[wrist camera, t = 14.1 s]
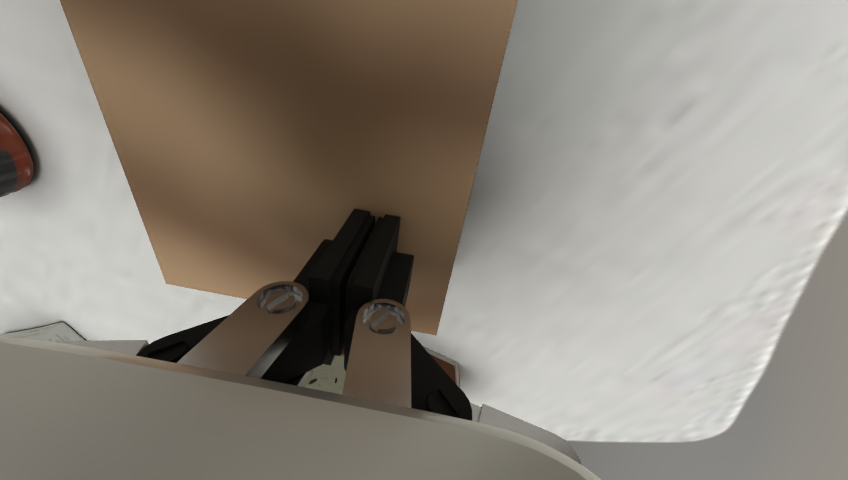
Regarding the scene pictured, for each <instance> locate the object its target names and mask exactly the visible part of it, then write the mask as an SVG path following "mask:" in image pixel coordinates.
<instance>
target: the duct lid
mask: <svg viewBox="0 0 848 480" xmlns="http://www.w3.org/2000/svg"><path fill="white" fill-rule="evenodd" d="M60 2H61V5H62V7H63V10H64V13H65V15H66V18H67V21H68V23H69V26H70V29H71V31H72V34H73V37H74V39H75V42H76V45H77V47H78V50H79V53H80V55H81V58H82V61H83V63H84V66H85V69H86V71H87V74H88V77H89V79H90V82H91V85H92V87H93V90H94V93H95V95H96V98H97V101H98V103H99V106H100V109H101V111H102V114H103V117H104V119H105V122H106V125H107V127H108V130H109V133H110V135H111V138H112V141H113V143H114V146H115V149H116V151H117V154H118V157H119V159H120V162H121V164H122V167H123V170H124V172H125V175H126V178H127V180H128V183H129V186H130V188H131V191H132V194H133V196H134V199H135V202H136V204H137V207H138V210H139V212H140V215H141V218H142V220H143V223H144V226H145V228H146V231H147V234H148V236H149V239H150V242H151V244H152V247H153V250H154V252H155V255H156V258H157V260H158V263H159V266H160V268H161V271H162V274H163V276H164V279H165V282H166V284H171V285H176V286H181V287H186V288H192V289H197V290H202V291H207V292H212V293H218V294H223V295H228V296H233V297H239V298H244V299H248V298H249V297H251V296H252V295H253V294H254V293H255V292H256V291H257V290H259V289H260V288H262V287H263V286H265V285H268V284H270V283H274V282H279V281H291V282H293V281H294V280H295V278H296V277H297V276H298V274H299V273H300V271H301V270H302V269H303V267H304V266H305V265H306V263H307V262H308V260H309V259H310V258H311V256H312V255H313V253H314V252H315V251H316V249H317V248H318V247H319V245H320V244H321V242H322V241H323V240H324V239H328V240H333V239H334V238H335V236H336V235H337V233H338V232H339V230H340V229H341V227H342V226H343V224H344V223H345V221H346V220H347V219H348V217H349V216H350V214H351V213H352V211H353V210H354V209H360V210H365V211H370V215H371V216H375V224H376V222H377V220H378V218H379V217H382V218H384V216H385V214H388V215H393V216H399V217H401V220H400V228H399V236H398V245H397V252H399V253H405V254H410V255H414V262H413V269H412V275H411V281H410V286H409V291H408V296H407V300H406V305H405V308H406V309H407V311H408V312H409V314H410V319H411V331H416V332H422V333H427V334H432V335H436V334H437V330H438V326H439V322H440V318H441V313H442V309H443V305H444V301H445V297H446V293H447V289H448V285H449V281H450V276H451V272H452V268H453V264H454V260H455V256H456V252H457V248H458V243H459V239H460V235H461V231H462V227H463V223H464V219H465V215H466V210H467V206H468V202H469V198H470V194H471V190H472V186H473V182H474V178H475V173H476V169H477V165H478V161H479V157H480V153H481V149H482V145H483V140H484V136H485V132H486V128H487V124H488V120H489V116H490V112H491V108H492V103H493V99H494V95H495V91H496V87H497V83H498V79H499V75H500V70H501V66H502V62H503V58H504V54H505V50H506V46H507V42H508V37H509V33H510V29H511V25H512V21H513V17H514V13H515V9H516V5H517V0H60Z"/></svg>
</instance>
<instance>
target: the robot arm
mask: <svg viewBox="0 0 848 480" xmlns="http://www.w3.org/2000/svg"><path fill="white" fill-rule="evenodd" d="M400 220H401V217H399V216H393V215H388V214H385V216H384V218H382V217H379V218H378V220H377V222H376V224H375V216H371V215H370V211H365V210H360V209H354V210H353V211H352V213H351V214H350V216H349V217H348V219H347V220H346V221H345V223H344V224H343V226H342V227H341V229H340V230H339V232H338V233H337V235H336V236H335V238H334V239H333V240H328V239H324V240H323V241H322V242H321V244H320V245H319V247H318V248H317V249H316V251H315V252H314V253H313V255H312V256H311V258H310V259H309V260H308V262H307V263H306V265H305V266H304V267H303V269H302V270H301V271H300V273H299V274H298V276H297V277H296V278H295V280H294V281H293V282H291V281H279V282H274V283H270V284H268V285H265V286H263V287H262V288H260V289H259V290H257V291H256V292H255V293H254V294H253V295H252V296H251V297H249V298H248V299H247V300H246V301H245V302H244V303H243V304H242V305H240V306H239V307H238V308H237V309H236V310H235V311H234V312H233V313H232V314H230V315H228V316H225V317H222V318H219V319H216V320H213V321H210V322H207V323H204V324H201V325H198V326H195V327H192V328H189V329H186V330H183V331H180V332H177V333H174V334H171V335H168V336H166V337H163V338H161V339H159V340H156V341H154V342H152V343H151V344H148V342H147V340H110V341H59V342H49V341H40V340H32V339H20V338H3V337H0V480H601V479H599V478H598V477H597V476H596V475H594V474H593V473H592V472H590V471H589V470H587V469H586V468H585V467H583V466H582V464H581V461H580V459H579V457H578V456H577V454H576V452H575V450H574V449H573V448H572V447H571V446H570V445H569V444H568V443H567V442H566V440H564V439H562V438H561V437H559V436H557V435H556V434H554V433H551V432H549V431H547V430H544V429H542V428H539V427H537V426H535V425H532V424H530V423H528V422H525V421H523V420H521V419H518V418H516V417H513V416H511V415H509V414H506V413H504V412H502V411H499V410H497V409H495V408H492V407H490V406H487V405H485V404H483V405H482V407H479V406H477V405H475V404H472V403H470V402H469V400H468V398H467V397H466V395H465V394H464V392H463V391H462V390H461V389H460V388H459V387H458V386H457V385H456V383H455V382H454V381H453V380H452V379H451V378H450V377H449V375H448V374H447V373H446V372H445V371H444V370H443V369H442V368H441V366H440V365H439V364H438V363H437V362H436V361H435V360H434V359H433V357H432V356H431V355H430V354H429V353H428V352H427V351H426V350H425V348H424V347H423V346H422V345H421V344H420V343H419V342H418V341H417V339H416V338H415V337H414V336H413V335H412V334H411V319H410V314H409V312H408V311H407V309H406V308H405V305H406V300H407V296H408V291H409V286H410V281H411V275H412V269H413V262H414V255H410V254H405V253H399V252H397V245H398V236H399V228H400ZM343 349H344V369H345V371H346V375H345V381H344V386H343V392H342V394H337V393H332V392H326V391H321V390H316V389H311V388H306V385H307V384H308V382H309V381H310V379H311V376H312V374H313V369H314V368H316V367H318V366H320V365H322V364H325V365H330V366H331V364H332V361H333V359H334V356H335V355H336V356H340V355H341V354H342V351H343Z"/></svg>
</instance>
